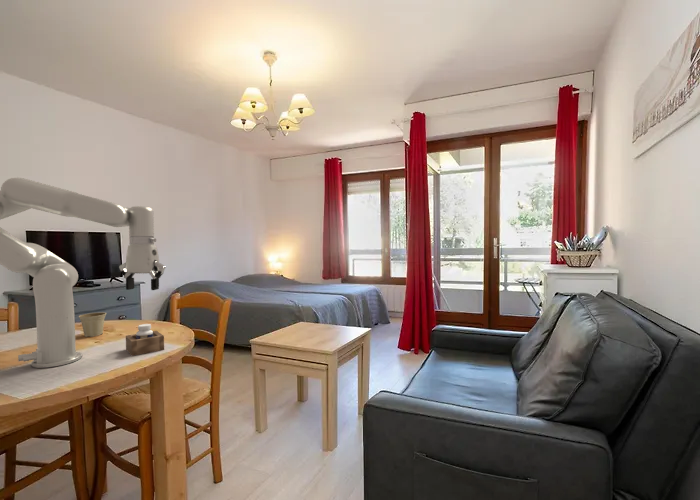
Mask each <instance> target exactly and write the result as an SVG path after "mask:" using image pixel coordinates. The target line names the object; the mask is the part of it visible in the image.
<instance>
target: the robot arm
mask: <svg viewBox="0 0 700 500" xmlns="http://www.w3.org/2000/svg"><path fill="white" fill-rule="evenodd" d="M30 209H33V210H34V209H35V210H37V211H42V212H46V213H50V214H54V215H57V216H61V217H67V218H70V217H71V218H77V219H81V220H85V221H89V222H94V223H97V224H98V223H99V224H101V225H106V226H110V227H113V228H125V227H128V229H129V231H128V232H129V233H128V234H129V238H128V241H129V245H127V250H126V257H125V258H126V259H125V262H123V263H122V264H120V265H119V267H118V268H119V270H120V272H121V273H120V274H121V275H122V276H123V278H124V279H125V290H129V291H130V290H133V289H135V277H134V275H136V274H149V276H151V278H150V290H151V291H155V290H160V289H159V288H160V278H161V277H162V276H163V274H164V272H165V270H166V268H167V266H166V265H164V264H162V263H160V259H159V251H158V247H157V245H156V244H155V242H157V238H155V233H154V232H155V228H154V227H155V226H154V222H155V221H154V218H155V217H154V210H153V207H152V208H151V207H149V206H141V205H140V206H138V205H135V206H131V207H128V206H127V207H125V206H123V205H120V204H119V203H118V204H117V203H115V202H112V201H107V200H104V199H100V198H97V197H92V196H90V195H89V196H88V195H85V194H82V193H78V192H75V191H72V190H69V189H65V188H60V187H57V186H53V185H50V184H46V183H43V182H42V183H41V182H39V181H35V180H30V179H28V178H22V177H11V178H8V179H6V180H4V182H3V183H2V184H1V187H0V221H1V220H3V219H6V218H9V217H11V216H14V215H17V214H20V213H23V212H26V211H28V210H30ZM0 265H1V266H2V267H4V268H5V269H7V270H9V271H10V272H14V273H19V274H27V275H29V276H31V277H32V278H33V279H32V290H33V296H34V302H35V304H34V305H35V318H36V320H35V321H36V343H37V344H36V345H37V346H36V347H37V348H35V351H31V353H23V354H18V355H17V356H18V360H17V361H18V362H29V361H31V366H32V368H37V369H38V368H39V369H43V368H44V369H45V368H54V367H58V366H63V365H67V364H71V363H73V362H77V361H78V360H81V358H82V357H83V356H82V355H83V354H82V352H79V351H76V326H75V325H76V322H75V321H76V320H75V319H76V318H75V301H74V295H73V294H74V293H73V287H74V286H75V285H76V284H77V282H78V280H79V274H78V273H79V272H78V271H77V269H76V268H75V267H74V266H73V265H72V264H70V263H69V262H67V261H66V260H64V259H62V258H61V257H59V256H58V255H56V254H55V253H53V252H51V251H50V250H48V249H47V248H46V247H43V246H41V245H40V244H37V243H33V242H25V241H23V240H21V239H20V238H17V236H14V235H12V234H11V233H10V232H8V231H7V230H5V229H4V228H2V227H0Z"/></svg>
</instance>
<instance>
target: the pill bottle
mask: <svg viewBox="0 0 700 500" xmlns="http://www.w3.org/2000/svg"><path fill="white" fill-rule="evenodd" d="M137 330H138V331H137V332H136V333H135V334H136V340H137V339H142V338H148V337H153V331H154V330H152V324H151V323H143V324H139V325H138V326H137Z"/></svg>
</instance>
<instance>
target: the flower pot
mask: <svg viewBox="0 0 700 500" xmlns="http://www.w3.org/2000/svg"><path fill="white" fill-rule="evenodd" d="M106 315H107V312H99V311H98V312H89V313H85V314H80V315H78V318H79V320H80V322H81V326H82V330H83V337H85V338H88V337H92V338H93V337H98V336H101V335H102V334H103V333H104V326H105V325H104V323H105V318H106Z"/></svg>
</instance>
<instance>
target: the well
mask: <svg viewBox="0 0 700 500" xmlns="http://www.w3.org/2000/svg"><path fill="white" fill-rule="evenodd" d="M152 331H153V337H148V338H142V339H137V340H136V333H134V334H128V335H125V350H126V351H127V352H128V354H129V355H130V356H132V357H134V356H139V355H145V354H149V353H153V352H159V351H163V350H165V335H164V334H162V333H161V332H159V331H158V330H152Z"/></svg>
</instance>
